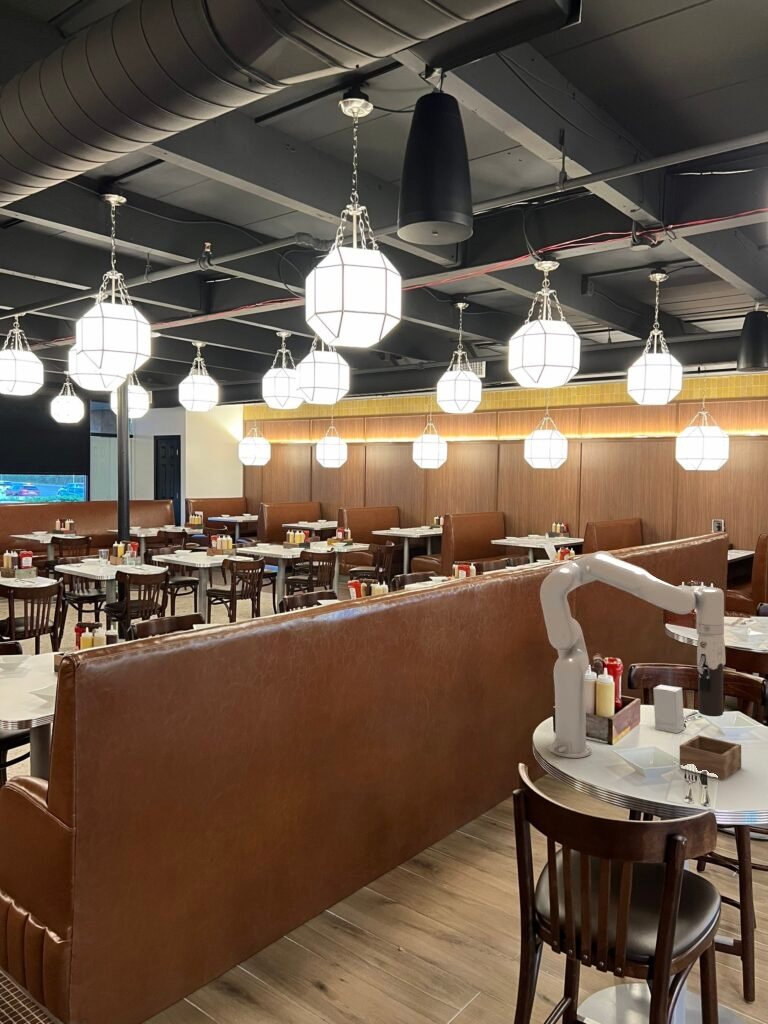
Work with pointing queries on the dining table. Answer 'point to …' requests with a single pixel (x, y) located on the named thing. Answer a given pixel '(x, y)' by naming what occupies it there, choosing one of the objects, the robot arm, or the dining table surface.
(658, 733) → the dining table surface
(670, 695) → the skincare box
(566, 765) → the dining table surface
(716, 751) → the caddy
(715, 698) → the vinegar
